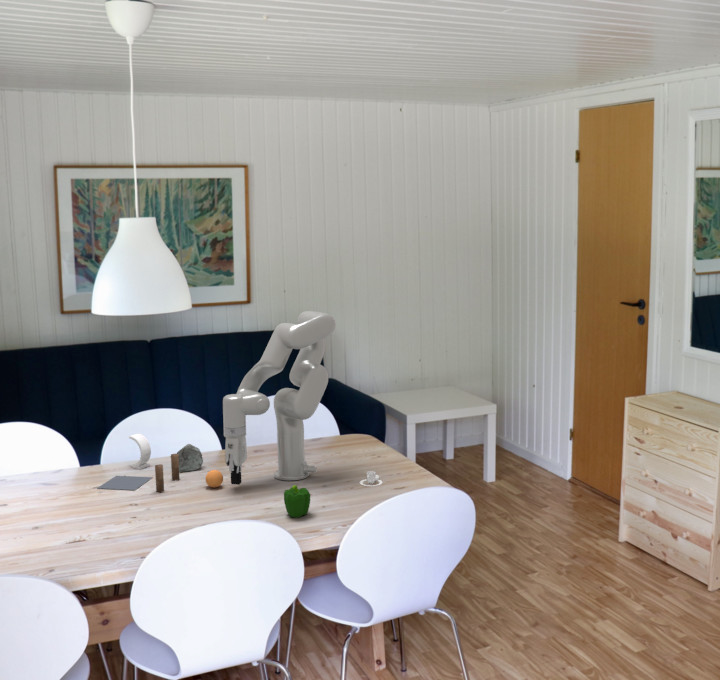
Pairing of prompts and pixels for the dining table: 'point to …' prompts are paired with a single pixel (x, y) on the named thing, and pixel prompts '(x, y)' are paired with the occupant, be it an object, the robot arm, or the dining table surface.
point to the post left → (159, 478)
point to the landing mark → (125, 483)
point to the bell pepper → (297, 501)
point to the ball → (214, 478)
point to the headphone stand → (142, 451)
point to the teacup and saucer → (371, 479)
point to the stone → (189, 458)
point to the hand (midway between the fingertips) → (236, 483)
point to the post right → (175, 466)
